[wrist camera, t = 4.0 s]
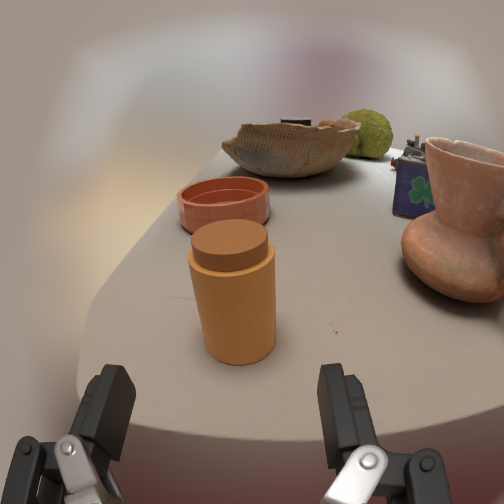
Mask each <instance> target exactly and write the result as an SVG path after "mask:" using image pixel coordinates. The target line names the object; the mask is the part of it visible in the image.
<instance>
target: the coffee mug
mask: <svg viewBox="0 0 504 504" xmlns="http://www.w3.org/2000/svg"><path fill="white" fill-rule="evenodd" d="M281 123H290V124H301V125H304V126H311V118H302V117H291V118H281Z"/></svg>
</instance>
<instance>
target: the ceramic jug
mask: <svg viewBox="0 0 504 504" xmlns="http://www.w3.org/2000/svg"><path fill="white" fill-rule="evenodd" d="M425 153H426V161H427V168H428V174H429V179H430V185H431V190H432V195H433V199H434V203H435V208H436V210H434V211H432V212H429V213H427V214H424V215H422V216H420V217H418V218H416V219H414V220H413V221H412V222H411V223H410V224H409V225H408V226H407V227H406V229H405V231H404V233H403V235H402V241H401V246H402V253H403V256H404V259H405V262H406V263H407V265H408V267H409V268H410V269H411V271H412V272H413V273H414V274H415V275H416V276H417V277H418V278H419V279H420V280H421V281H422V282H424V283H425V284H426V285H428V286H429V287H431V288H432V289H434V290H436V291H438V292H440V293H442V294H444V295H446V296H448V297H451V298H454V299H457V300H461V301H465V302H472V303H488V302H493V301H496V300H499V299H501V298H503V297H504V153H501V152H499V151H496V150H492V149H489V148H486V147H483V146H480V145H476V144H473V143H469V142H464V141H459V140H455V142H454V143H453V142H452V141H450V140H449V139H448V138H440V137H431V138H427V139H426V143H425Z"/></svg>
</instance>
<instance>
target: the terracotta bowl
mask: <svg viewBox="0 0 504 504" xmlns="http://www.w3.org/2000/svg"><path fill="white" fill-rule="evenodd" d="M176 197H177V204H178V210H179V216H180V221H181V225H182V226H183V227H184V228H185V229H186V230H187V231H188V232H190V233H192V234H194V233H195V232H196V231H197V230H198V229H200V228H201V227H203V226H205V225H207V224H210V223H213V222H217V221H222V220H229V219H243V220H250V221H254V222H257V223H259V224H261V225H263V224H264V223H265V222H266V220H267V218H268V216H269V215H270V206H269V187H268V184H267V183H266V182H264V181H263V180H260V179H256V178H251V177H244V176H228V177H217V178H211V179H206V180H202V181H198V182H195V183H192V184H190V185H188V186H186V187H184V188H183V189H181V190H180V191H179V192H178V193H177V195H176Z"/></svg>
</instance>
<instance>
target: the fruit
mask: <svg viewBox="0 0 504 504" xmlns="http://www.w3.org/2000/svg"><path fill="white" fill-rule="evenodd" d="M342 118H346V119H349V120H353V121H355V123H359V122H360V123H362V128H361V129H360V130H359V131H358V133H357V134H356V135H355V137H354V142H353V144H352V145H351V148H350V150H349V151H348V152H347V154H349V155H352V156H355V157H368V158H380V157H383V155H384V154H385V153H386V152H387V151H388V150H389V148H390V146H391V143H392V140H393V133H392V131H391V129H392V128H391V127H390V124H389V121H387V119H386V118H385V117H384V116H383V115H382V114H379V113H378V112H375V111H372V110H365V109H363V110H362V109H361V110H356V111H352V112H349V113H348V114H347V115H345V116H343V117H342Z"/></svg>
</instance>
